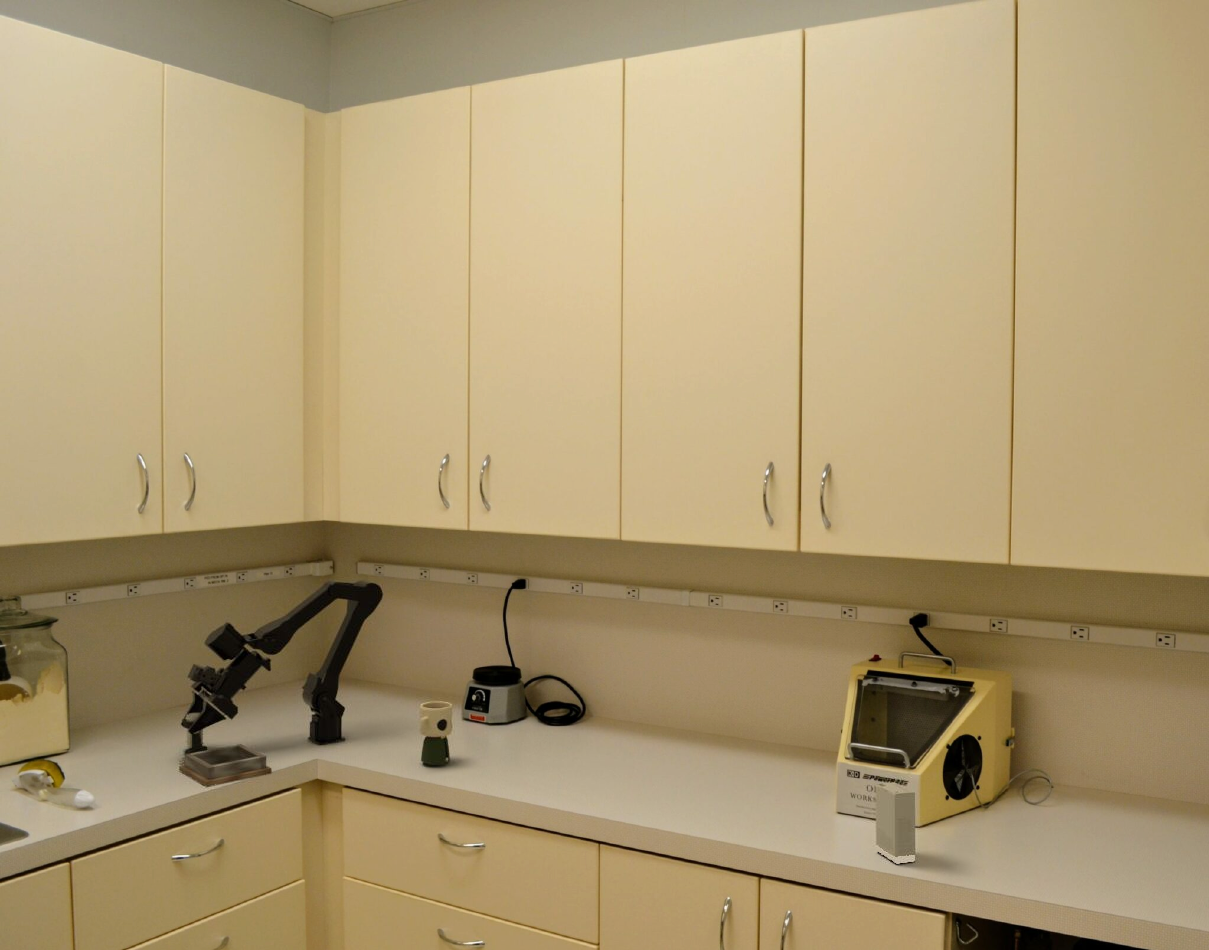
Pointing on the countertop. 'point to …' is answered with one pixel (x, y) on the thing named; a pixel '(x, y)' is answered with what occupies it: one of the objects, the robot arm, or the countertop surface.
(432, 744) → the character mug
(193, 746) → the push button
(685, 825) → the countertop surface
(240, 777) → the tray
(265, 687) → the countertop surface
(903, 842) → the skincare box
